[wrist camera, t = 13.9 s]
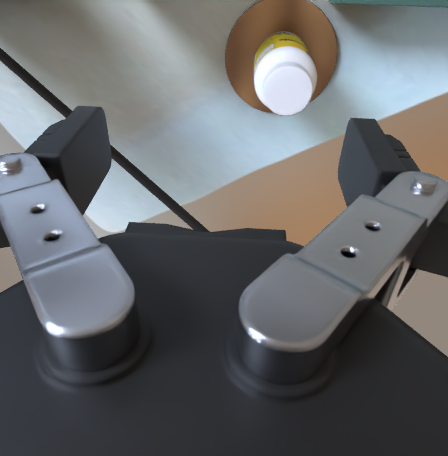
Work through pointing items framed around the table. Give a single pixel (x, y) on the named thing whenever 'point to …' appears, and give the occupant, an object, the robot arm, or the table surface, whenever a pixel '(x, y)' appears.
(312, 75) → the supplement bottle
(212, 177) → the table surface
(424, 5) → the box
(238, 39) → the cork trivet
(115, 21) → the table surface
